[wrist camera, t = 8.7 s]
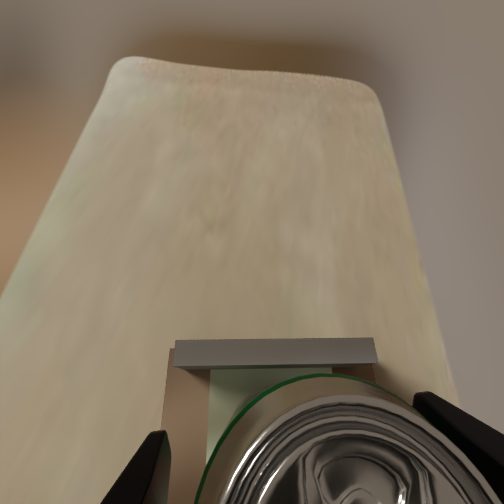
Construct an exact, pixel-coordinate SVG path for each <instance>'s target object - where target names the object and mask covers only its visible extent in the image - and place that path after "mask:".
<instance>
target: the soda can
mask: <svg viewBox="0 0 504 504" xmlns="http://www.w3.org/2000/svg"><path fill="white" fill-rule="evenodd" d="M194 504H502V502H501V501H500V500H499V498H498V497H497V495H496V494H495V492H494V491H493V489H492V488H491V487H490V485H489V484H488V482H487V481H486V479H485V478H484V476H483V475H482V474H481V473H480V472H479V471H478V469H477V468H476V467H475V466H474V465H473V464H472V462H471V461H470V460H469V459H468V458H467V457H466V455H465V454H464V453H463V452H462V451H461V450H460V449H459V448H457V447H456V446H455V445H454V444H453V443H452V442H451V441H450V440H449V439H448V438H447V437H446V436H445V435H444V434H442V433H441V432H440V431H438V430H437V429H436V428H435V427H434V426H433V425H432V424H431V423H430V422H429V421H428V420H426V419H425V418H424V417H423V416H422V415H421V414H420V413H419V412H418V411H417V410H416V409H415V408H413V407H412V406H410V405H409V404H408V403H406V402H405V401H404V400H402V399H401V398H399V397H398V396H397V395H395V394H393V393H391V392H390V391H388V390H386V389H384V388H382V387H380V386H378V385H377V384H374V383H371V382H368V381H366V380H363V379H360V378H357V377H352V376H347V375H342V374H336V373H315V374H309V375H302V376H297V377H294V378H291V379H288V380H285V381H282V382H279V383H276V384H273V385H271V386H268V387H265V388H262V389H259V390H256V391H255V392H253V393H251V394H250V395H248V396H247V397H246V398H245V399H244V400H243V401H242V402H241V403H240V404H239V405H238V407H237V408H236V410H235V411H234V413H233V415H232V417H231V419H230V420H229V422H228V424H227V426H226V428H225V429H224V431H223V433H222V435H221V437H220V438H219V440H218V442H217V444H216V446H215V448H214V450H213V452H212V454H211V456H210V458H209V460H208V462H207V464H206V466H205V469H204V472H203V475H202V478H201V481H200V484H199V487H198V490H197V493H196V496H195V501H194Z"/></svg>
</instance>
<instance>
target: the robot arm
mask: <svg viewBox="0 0 504 504" xmlns="http://www.w3.org/2000/svg"><path fill="white" fill-rule="evenodd" d="M412 407H413V408H415V409H416V410H417V411H418V412H419V413H420V414H421V415H422V416H423V417H424V418H425V419H426V420H428V421H429V422H430V423H431V424H432V425H433V426H434V427H435V428H436V429H437V430H438V431H440V432H441V433H442V434H444V435H445V436H446V437H447V438H448V439H449V440H450V441H451V442H452V443H453V444H454V445H455V446H456V447H457V448H459V449H460V450H461V451H462V452H463V453H464V454H465V455H466V457H467V458H468V459H469V460H470V461H471V462H472V464H473V465H474V466H475V467H476V468H477V469H478V471H479V472H480V473H481V474H482V475H483V476H484V478H485V479H486V481H487V482H488V484H489V485H490V487H491V488H492V489H493V491H494V492H495V494H496V495H497V497H498V498H499V500H500V501H501V502H502V504H504V434H502V433H500V432H498V431H497V430H495V429H493V428H492V427H490V426H488V425H486V424H485V423H483V422H481V421H479V420H478V419H476V418H474V417H473V416H471V415H469V414H468V413H466V412H464V411H463V410H461V409H459V408H457V407H456V406H454V405H452V404H451V403H449V402H447V401H446V400H444V399H442V398H440V397H439V396H437V395H435V394H434V393H432V392H428V391H425V392H419V393H416V394H415V395H414V399H413V405H412ZM170 469H171V448H170V443H169V439H168V434H167V432H166V430H159V431H153V432H151V433H150V434H149V435H148V436H147V437H146V439H145V440H144V442H143V443H142V445H141V446H140V447H139V449H138V450H137V452H136V453H135V455H134V456H133V457H132V459H131V460H130V462H129V463H128V465H127V466H126V467H125V469H124V470H123V472H122V473H121V475H120V476H119V477H118V479H117V480H116V482H115V483H114V485H113V486H112V488H111V489H110V490H109V492H108V493H107V495H106V496H105V498H104V499H103V500H102V502H101V503H100V504H167V501H168V491H169V480H170Z"/></svg>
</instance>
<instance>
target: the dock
mask: <svg viewBox="0 0 504 504" xmlns="http://www.w3.org/2000/svg"><path fill="white" fill-rule="evenodd" d="M375 363H378V359H377V354H376V350H375V345H374V340H373V338H302V339H224V340H176V341H175V349H170V353H169V361H168V370H167V379H166V387H165V396H164V405H163V413H162V422H161V430H166V432H167V434H168V439H169V443H170V448H171V469H170V480H169V491H168V501H167V504H194V501H195V496H196V493H197V490H198V487H199V484H200V481H201V478H202V475H203V472H204V469H205V466H206V464H207V462H208V460H209V458H210V456H211V454H212V452H213V450H214V448H215V446H216V444H217V442H218V440H219V438H220V437H221V435H222V433H223V431H224V429H225V428H226V426H227V424H228V422H229V420H230V419H231V417H232V415H233V413H234V411H235V410H236V408H237V407H238V405H239V404H240V403H241V402H242V401H243V400H244V399H245V398H246V397H247V396H248V395H250V394H251V393H253V392H255V391H256V390H259V389H262V388H265V387H268V386H271V385H273V384H276V383H279V382H282V381H285V380H288V379H291V378H294V377H297V376H302V375H309V374H315V373H336V374H342V375H347V376H352V377H357V378H360V379H363V380H366V381H368V382H371V383H374V384H376V383H375V378H374V373H373V368H372V364H375Z"/></svg>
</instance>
